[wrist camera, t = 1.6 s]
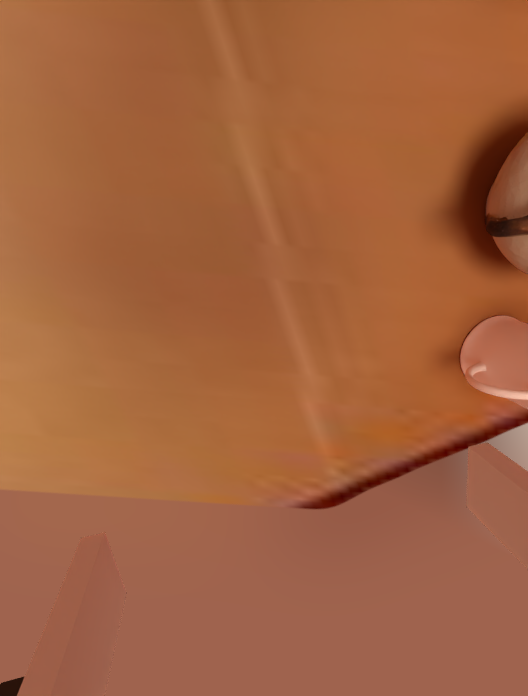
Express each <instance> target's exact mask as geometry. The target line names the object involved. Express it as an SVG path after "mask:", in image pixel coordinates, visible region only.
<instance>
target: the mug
mask: <svg viewBox="0 0 528 696" xmlns="http://www.w3.org/2000/svg"><path fill="white" fill-rule="evenodd" d="M460 364H461V369H462V371H463V373H464V375H465V377H466V380H467V382H468V383H469V384H470V385H471V386H473V387H474V388H476V389H478V390H480V391H482V392H485V393H488V394H491V395H494V396H499V397H504V398H507V399H509V400H511V401H513V402H515V403H517V404H519V405H521V406H522V407H524V408H526V409H528V323H524V322H521V321H519V320H517V319H515V318H513V317H510V316H504V315H501V316H494V317H491V318H488V319H486V320H484V321H482V322H481V323H479V324H478V325H477V326H476V327H475V328H474V329H473V330H472V331H471V332H470V333H469V335H468V336H467V338H466V339H465V341H464V343H463V346H462V349H461V354H460Z"/></svg>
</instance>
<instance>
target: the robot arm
mask: <svg viewBox="0 0 528 696" xmlns="http://www.w3.org/2000/svg"><path fill="white" fill-rule="evenodd" d="M466 497H467V498H466V507H467V508H468V509H469V510H470V511H471V512H472V513H473V514H474V515H475V516H476V517H477V518H478V519H479V520H480V521H481V522H482V523H483V524H484V525H485V527H487V529H488V530H489V531H490V532H491V533H492V534H493V535H494V536H495V537H496V538H497V539H498V540H499V541H500V542H501V543H502V544H503V545H504V546H505V547H506V548H507V549H508V550H509V551H510V552H511V553H512V554H513V555H514V556H515V557H516V558H517V559H518V560H519V561H520V562H521V563H522V564H523V565H524V566H525V567H526V568H527V569H528V471H526V470H525V469H523V468H522V467H521V466H519V465H518V464H517V463H515V462H514V461H512V460H511V459H510V458H508V457H507V456H505V455H504V454H503V453H501V452H500V451H498V450H497V449H496V448H494V447H493V446H491V445H490V444H489V443H483V444H479V445H475V446H471V447H469V449H468V474H467V496H466ZM126 594H127V592H126V590H125V587H124V584H123V581H122V578H121V576H120V573H119V570H118V567H117V564H116V562H115V559H114V556H113V553H112V550H111V548H110V545H109V542H108V539H107V537H106V534H105V532H104V533H99V534H96V535H91V536H87V537H82V538H81V539H80V541H79V544H78V546H77V549H76V552H75V554H74V556H73V559H72V561H71V564H70V566H69V569H68V571H67V573H66V576H65V578H64V581H63V584H62V586H61V588H60V591H59V593H58V596H57V598H56V601H55V603H54V605H53V608H52V610H51V613H50V615H49V618H48V620H47V623H46V625H45V628H44V630H43V633H42V635H41V638H40V640H39V642H38V645H37V648H36V650H35V652H34V655H33V657H32V660H31V662H30V665H29V667H28V670H27V672H26V674H25V677H21V678H17V679H14V680H10V681H7V682H3V683H1V684H0V696H105V692H106V687H107V682H108V678H109V673H110V668H111V664H112V659H113V655H114V650H115V645H116V640H117V636H118V631H119V627H120V622H121V617H122V613H123V608H124V603H125V598H126Z"/></svg>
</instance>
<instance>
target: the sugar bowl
mask: <svg viewBox="0 0 528 696" xmlns="http://www.w3.org/2000/svg"><path fill="white" fill-rule="evenodd" d="M485 224H486V225H487V226H486V230H487V232H488V233H490V234H491V235H492V236H493V239H494V241H495V243H496V245H497V247H498V248H499V250H500V251H501V253H502V254H503V255H504V256H505V258H506V259H507V260H508V261H509V262H510V263H511V264H513V265H514V266H515V267H516V268H518V269H519V270H521V271H522V272H524V273H526V274H528V132H527V133H526V134H525V135H524V136H523V137H522V139H521V140H520V141H519V142H518V143H517V145H516V146H515V147H514V148H513V150H512V151H511V152H510V154H509V155H508V157H507V158H506V160H505V162H504V164H503V165H502V167H501V169H500V171H499V173H498V175H497V177H496V179H495V181H494V183H493V185H492V187H491V189H490V191H489V194H488V197H487V202H486V217H485Z"/></svg>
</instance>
